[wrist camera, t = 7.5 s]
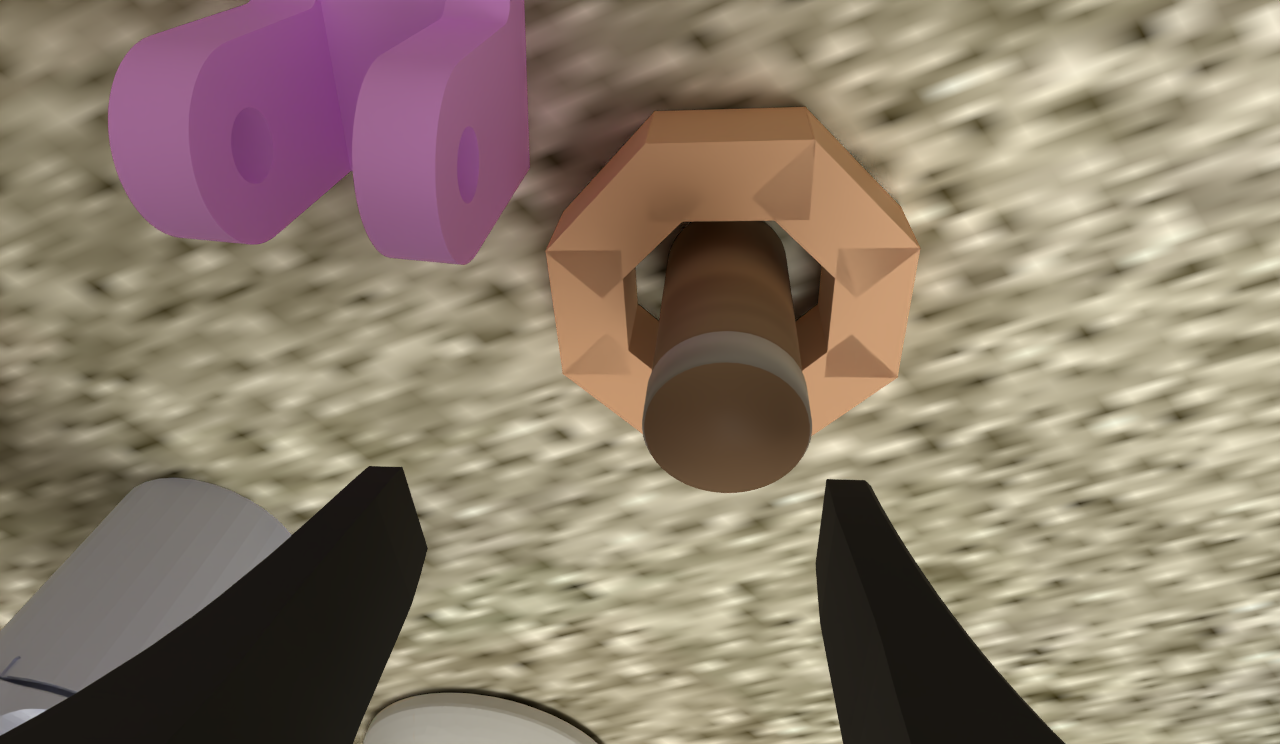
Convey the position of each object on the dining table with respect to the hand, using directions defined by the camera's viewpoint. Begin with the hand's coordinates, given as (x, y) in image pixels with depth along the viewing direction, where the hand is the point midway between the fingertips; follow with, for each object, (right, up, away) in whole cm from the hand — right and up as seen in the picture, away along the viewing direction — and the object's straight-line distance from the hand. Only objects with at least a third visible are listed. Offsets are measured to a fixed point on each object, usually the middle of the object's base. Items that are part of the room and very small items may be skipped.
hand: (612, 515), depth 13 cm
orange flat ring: (+3, +5, +7) cm, 10 cm away
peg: (+3, +5, +7) cm, 10 cm away
